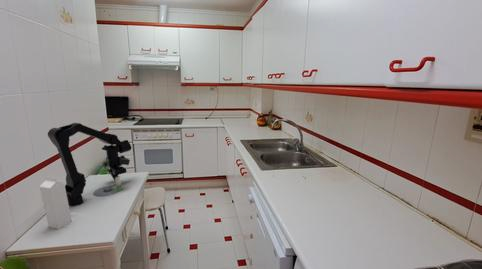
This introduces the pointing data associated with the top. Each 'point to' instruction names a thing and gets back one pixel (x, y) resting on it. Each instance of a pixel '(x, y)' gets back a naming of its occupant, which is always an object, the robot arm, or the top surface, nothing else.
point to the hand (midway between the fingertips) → (116, 181)
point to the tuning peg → (109, 188)
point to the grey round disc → (101, 192)
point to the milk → (55, 203)
